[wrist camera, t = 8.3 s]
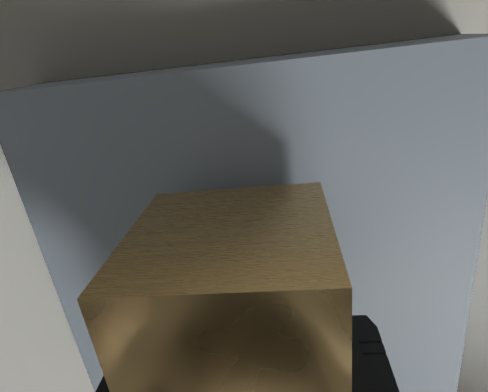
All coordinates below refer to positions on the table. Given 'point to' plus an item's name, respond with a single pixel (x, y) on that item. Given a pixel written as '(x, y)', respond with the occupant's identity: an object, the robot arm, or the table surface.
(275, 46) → the table surface
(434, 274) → the slate board
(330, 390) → the tan rectangular block
